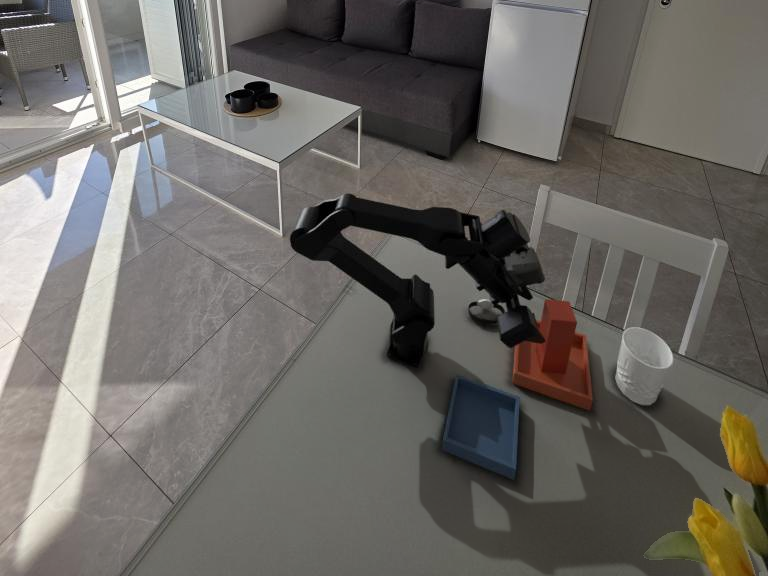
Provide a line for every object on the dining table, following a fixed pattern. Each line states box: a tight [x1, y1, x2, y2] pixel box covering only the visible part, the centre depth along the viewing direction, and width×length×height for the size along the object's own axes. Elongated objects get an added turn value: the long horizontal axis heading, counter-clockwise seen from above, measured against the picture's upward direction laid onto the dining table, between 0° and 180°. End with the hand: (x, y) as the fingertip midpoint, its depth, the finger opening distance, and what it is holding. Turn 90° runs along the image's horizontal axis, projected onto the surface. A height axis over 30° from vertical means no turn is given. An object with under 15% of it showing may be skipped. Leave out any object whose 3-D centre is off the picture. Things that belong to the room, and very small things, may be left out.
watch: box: [467, 298, 506, 326], centre depth 92 cm, size 8×5×4 cm, turn 85°
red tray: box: [512, 319, 594, 411], centre depth 83 cm, size 13×13×3 cm
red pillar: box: [535, 298, 578, 374], centre depth 81 cm, size 4×4×13 cm
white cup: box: [614, 326, 674, 406], centre depth 78 cm, size 8×8×10 cm
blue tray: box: [441, 374, 521, 481], centre depth 72 cm, size 11×11×2 cm
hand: (536, 319), depth 80 cm, fingers open, 9 cm apart
